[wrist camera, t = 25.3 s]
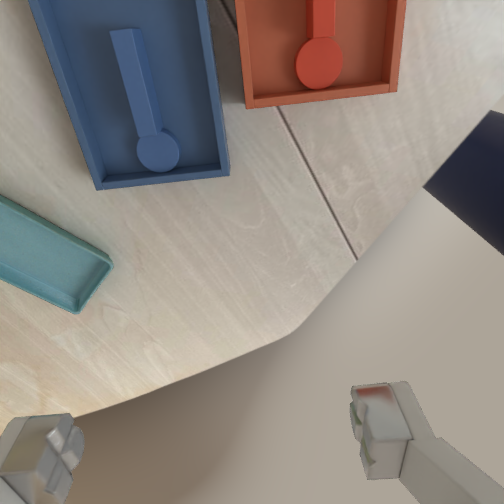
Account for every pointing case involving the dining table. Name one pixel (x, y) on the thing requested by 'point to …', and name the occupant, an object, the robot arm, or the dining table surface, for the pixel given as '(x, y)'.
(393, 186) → the dining table surface
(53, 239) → the shallow long dish
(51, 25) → the tray blue
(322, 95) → the tray red
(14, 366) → the dining table surface
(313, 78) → the red bar with disc
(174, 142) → the spoon blue
